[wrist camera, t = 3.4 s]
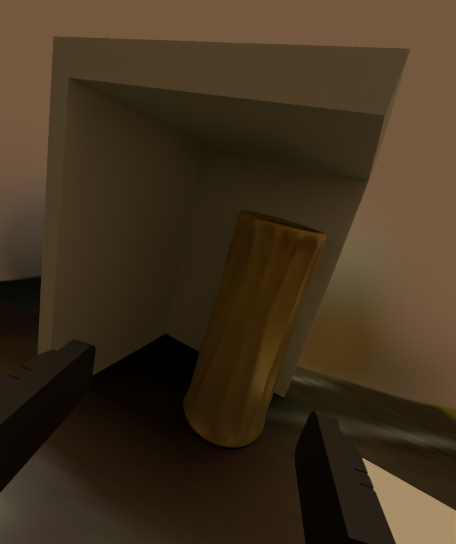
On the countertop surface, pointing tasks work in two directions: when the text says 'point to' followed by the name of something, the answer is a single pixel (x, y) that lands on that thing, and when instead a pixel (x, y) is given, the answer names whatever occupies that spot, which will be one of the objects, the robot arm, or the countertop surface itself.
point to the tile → (412, 511)
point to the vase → (250, 327)
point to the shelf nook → (195, 176)
